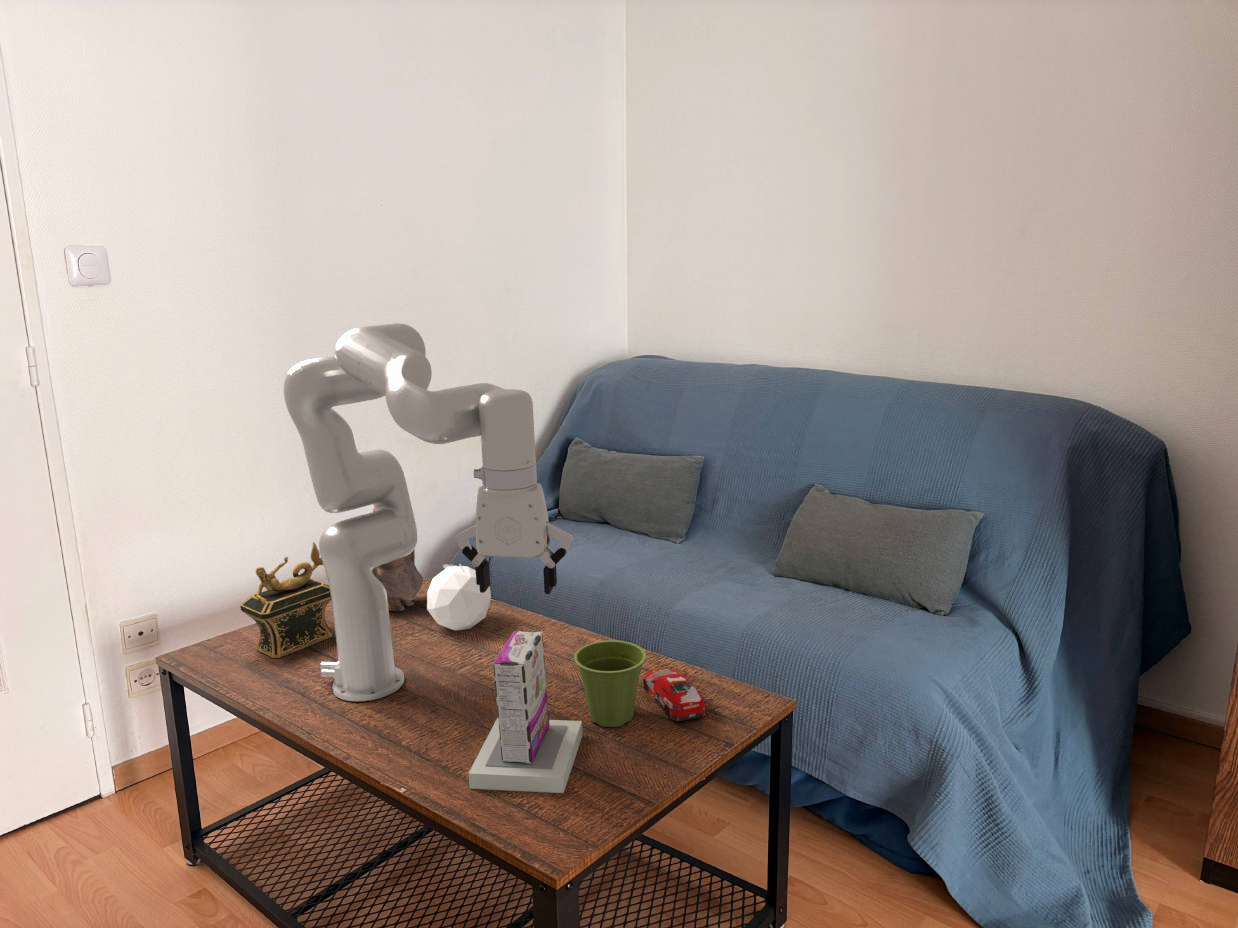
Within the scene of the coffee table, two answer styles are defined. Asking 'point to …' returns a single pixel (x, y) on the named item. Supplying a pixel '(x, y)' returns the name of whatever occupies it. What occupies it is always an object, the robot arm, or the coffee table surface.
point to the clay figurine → (399, 581)
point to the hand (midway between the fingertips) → (517, 589)
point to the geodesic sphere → (457, 598)
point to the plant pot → (610, 679)
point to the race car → (674, 694)
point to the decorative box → (290, 609)
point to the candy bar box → (521, 696)
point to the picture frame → (537, 777)
